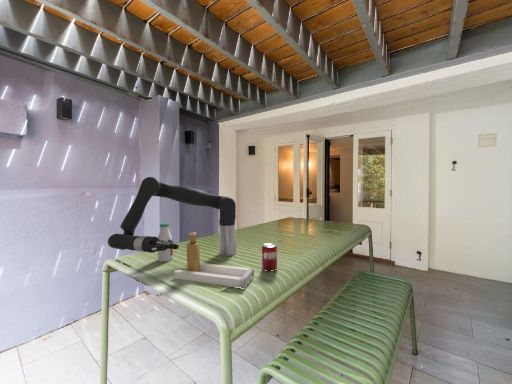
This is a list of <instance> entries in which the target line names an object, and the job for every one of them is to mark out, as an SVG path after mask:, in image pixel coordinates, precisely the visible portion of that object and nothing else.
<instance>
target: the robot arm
mask: <svg viewBox="0 0 512 384" xmlns="http://www.w3.org/2000/svg"><path fill="white" fill-rule="evenodd" d="M153 197H161V198H164V199H165V198H166V199H170V200H172V201H176V202H179V203H183V204H185V205H186V204H187V205H191V206H195V207H196V206H197V207H210V208H213V209H216V210H219V211H218V213H219V219H218V229H219V231H218V232H219V233H218V234H219V235H218V236H219V238H218V240H219V241H218V242H219V247H218V248H219V255H220V256H224V257H225V256H226V257H229V256H230V257H231V256H233V255H236V253H237V236H236V219H237V215H236V214H237V213H236V212H237V206H236V201H235V200H234V199H233V198H232V197H231V196H223V195H217V194H216V195H215V194H211V193H210V192H209V193H208V192H206V191H203V190H200V189H197V188H194V187H189V186H183V185H182V186H181V185H170V184H167V183H163V182H160V181H159V180H158V179H157V178H155V177H153V176H148V177H145V178H144V179H142V181H141V183H140V186H139V189H138V191H137V194H136V197H135V199H134V201H133V203H132V205H131V206H130V208H129V210H128V211H127V213H126V215H125V216H124V218H123V220H122V222H121V224H120V229H121V230H122V231H123V233H114V234H111V235H110V236H109V237H108V239H107V244H108V246H109V247H110V248H112V249H117V250H122V251H124V250H129V251H136V252H141V253H153V254H154V253H156V252H157V251H165V250H166V249H168V250H169V249H173V250H178V249H179V246H180V245H179V243H174V241H173V239H172V240H170V239H169V240H168V241H164V240H159V239H158V236H152V235H140V236H139V235H135V232H136V231H135V230H136V228H137V227H138V225H139V223H140V221H141V219H142V217H143V214H144V212H145V209H146V207H147V205H148V203H149V201H150V200H151V198H153Z"/></svg>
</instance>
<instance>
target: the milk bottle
mask: <svg viewBox="0 0 512 384" xmlns="http://www.w3.org/2000/svg"><path fill="white" fill-rule="evenodd" d="M159 228H160V230H159V233H158V235H157V238H158V239H159V240H164V241H168V240H169V239H170V240H172V241H173V237H172V236H173V235H172V234H171V231H170V229H169V228H170V223H168V222H162V223H160V224H159ZM156 252H157V261H158V262H159V263H166V262H167V261H168V262H170V261H172V260H173V257H174V254H173V253H174V249H169V250H168V249H166V250H165V251H156ZM168 262H167V263H168Z"/></svg>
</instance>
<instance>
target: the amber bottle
mask: <svg viewBox="0 0 512 384" xmlns="http://www.w3.org/2000/svg"><path fill="white" fill-rule="evenodd" d="M188 235H189V242H187V243H186V268H187V269H186V271H193V272H200V263H201V260H200V242H199V241H197V231H190V232H189V233H188Z"/></svg>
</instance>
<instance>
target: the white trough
mask: <svg viewBox="0 0 512 384" xmlns="http://www.w3.org/2000/svg"><path fill="white" fill-rule="evenodd" d="M173 273H174V275H173V278H174V279H176V280H183V281H190V282H191V281H192V282H197V283H205V284H211V285H220V286H227V287H226V288H228V287H241V288H245V286H246V285H247V284H248V282H249V281H250V280H251V278H252V277H253V276H254V277H255V269H254V268H251V267H242V266H235V265H234V266H231V265H224V264H215V263H205V262H200V272H193V271H187V270H185V269H183V270H182V269H176V270H175V271H173ZM251 281H252V280H251ZM248 285H249V284H248ZM248 285H247V286H248ZM245 289H246V288H245Z"/></svg>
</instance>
